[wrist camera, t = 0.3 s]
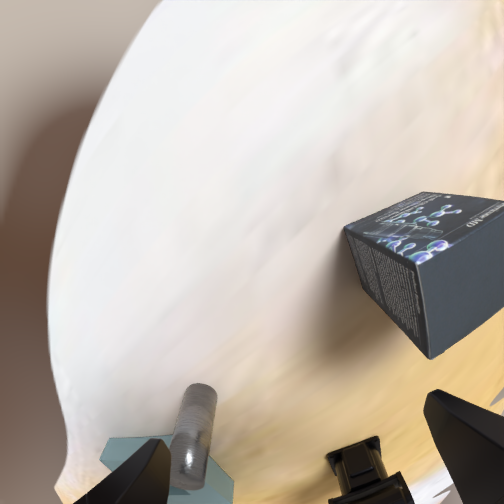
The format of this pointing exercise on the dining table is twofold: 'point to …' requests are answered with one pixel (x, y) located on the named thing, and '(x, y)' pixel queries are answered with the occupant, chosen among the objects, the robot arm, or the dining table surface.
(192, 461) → the peg
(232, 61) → the dining table surface
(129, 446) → the hole block
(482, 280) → the box
